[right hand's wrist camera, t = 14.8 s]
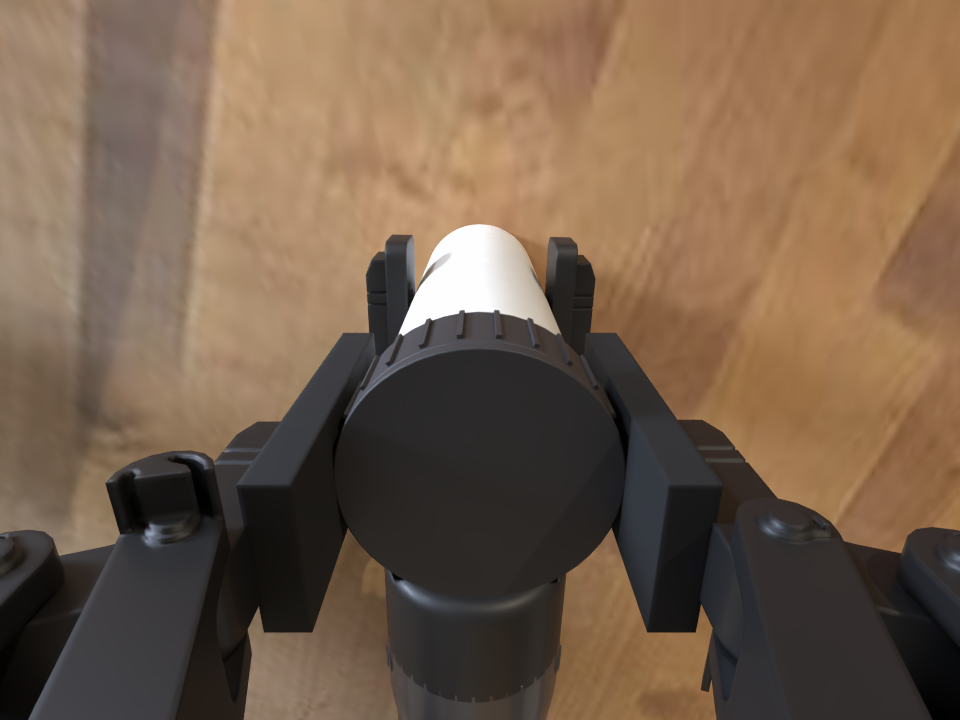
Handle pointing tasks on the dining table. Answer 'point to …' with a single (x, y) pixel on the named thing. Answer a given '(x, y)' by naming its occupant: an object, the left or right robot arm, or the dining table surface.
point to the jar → (479, 280)
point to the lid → (479, 457)
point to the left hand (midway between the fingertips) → (482, 241)
